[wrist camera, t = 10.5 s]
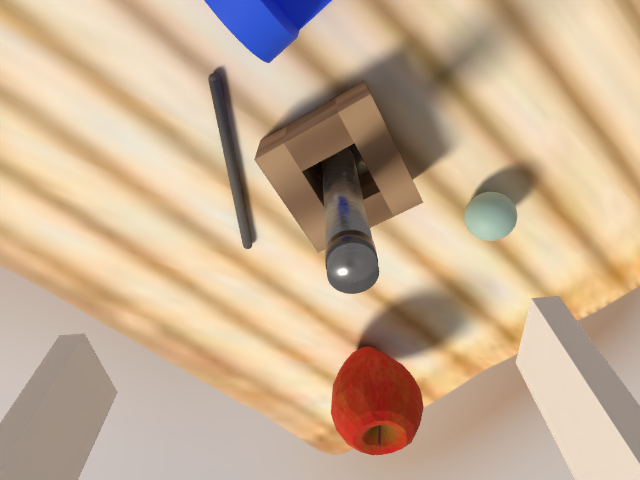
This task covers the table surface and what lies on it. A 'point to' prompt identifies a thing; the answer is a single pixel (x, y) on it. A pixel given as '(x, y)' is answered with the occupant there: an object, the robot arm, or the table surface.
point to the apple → (375, 403)
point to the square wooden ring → (324, 141)
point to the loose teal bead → (490, 216)
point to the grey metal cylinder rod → (347, 227)
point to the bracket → (266, 22)
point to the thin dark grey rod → (230, 158)
